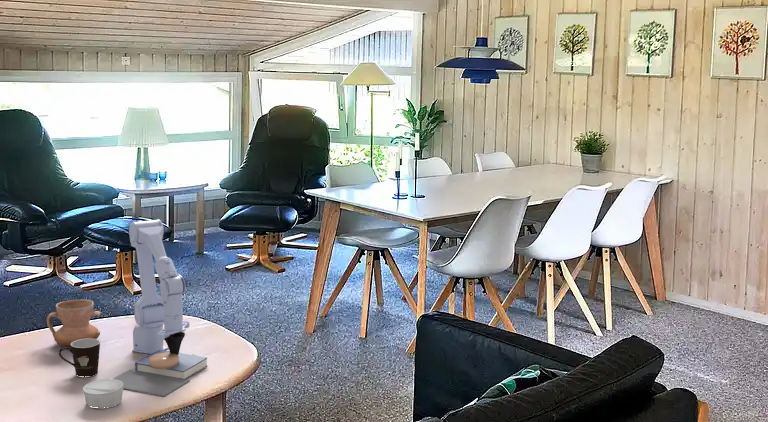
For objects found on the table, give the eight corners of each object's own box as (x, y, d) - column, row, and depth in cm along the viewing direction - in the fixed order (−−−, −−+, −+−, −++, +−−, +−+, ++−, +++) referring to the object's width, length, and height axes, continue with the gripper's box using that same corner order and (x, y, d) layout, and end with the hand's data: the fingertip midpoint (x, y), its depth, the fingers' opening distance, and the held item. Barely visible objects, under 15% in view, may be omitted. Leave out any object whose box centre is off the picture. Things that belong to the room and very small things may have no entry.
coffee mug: (107, 371, 272) (105, 340, 270) (89, 380, 264) (88, 349, 262) (76, 366, 275) (75, 335, 273) (58, 375, 267) (56, 344, 265)
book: (135, 371, 271) (134, 362, 271) (160, 358, 283) (159, 349, 283) (183, 380, 265) (183, 371, 264) (207, 366, 277) (207, 357, 276)
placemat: (102, 385, 260) (102, 383, 260) (130, 370, 272) (129, 369, 272) (164, 396, 252) (164, 395, 252) (189, 381, 264) (189, 380, 264)
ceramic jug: (108, 336, 304) (105, 297, 301) (96, 350, 289) (93, 309, 287) (56, 337, 303) (53, 298, 300) (41, 351, 289) (38, 310, 286)
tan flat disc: (143, 366, 268) (143, 360, 267) (161, 357, 276) (160, 351, 276) (167, 370, 264) (167, 364, 264) (184, 361, 273) (184, 355, 272)
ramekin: (85, 413, 240) (84, 395, 239) (81, 398, 250) (80, 381, 249) (126, 407, 245) (126, 390, 244) (121, 393, 255) (121, 376, 254)
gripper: (170, 322, 264) (171, 364, 267) (197, 309, 278) (198, 349, 280) (151, 319, 267) (152, 361, 269) (178, 306, 280) (179, 346, 283)
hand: (174, 355), depth 275 cm, fingers closed
